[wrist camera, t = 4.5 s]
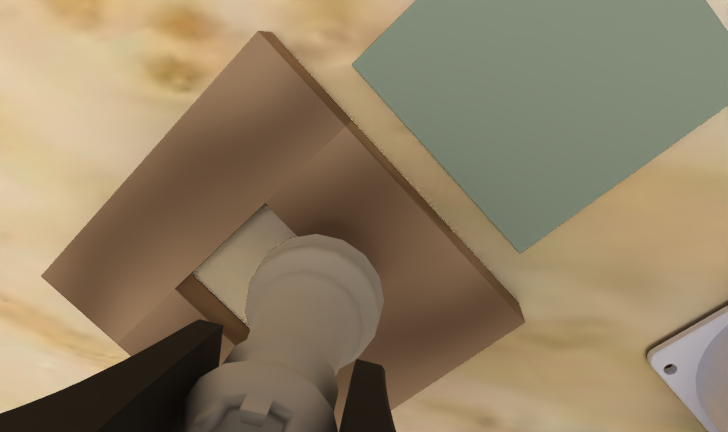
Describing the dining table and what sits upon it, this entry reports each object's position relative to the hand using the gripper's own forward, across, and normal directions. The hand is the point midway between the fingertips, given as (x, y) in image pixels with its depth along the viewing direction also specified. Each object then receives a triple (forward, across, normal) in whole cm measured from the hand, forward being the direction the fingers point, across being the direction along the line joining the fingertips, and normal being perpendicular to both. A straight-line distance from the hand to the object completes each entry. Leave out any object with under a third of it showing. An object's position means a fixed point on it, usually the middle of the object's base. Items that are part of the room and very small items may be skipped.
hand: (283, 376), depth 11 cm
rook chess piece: (+6, 0, +1) cm, 6 cm away
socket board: (+10, +3, +3) cm, 11 cm away
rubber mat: (+10, -6, -8) cm, 14 cm away
